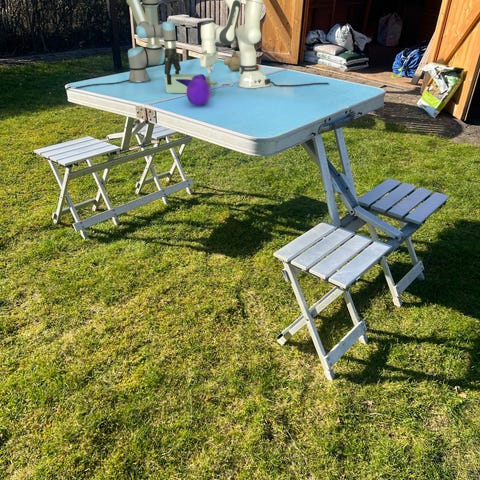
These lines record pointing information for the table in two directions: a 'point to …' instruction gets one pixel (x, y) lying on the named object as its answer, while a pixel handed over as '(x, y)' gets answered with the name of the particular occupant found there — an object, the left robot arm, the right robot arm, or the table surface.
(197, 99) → the toy
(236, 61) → the teapot
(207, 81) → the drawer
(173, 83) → the cabinet
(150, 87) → the table surface
